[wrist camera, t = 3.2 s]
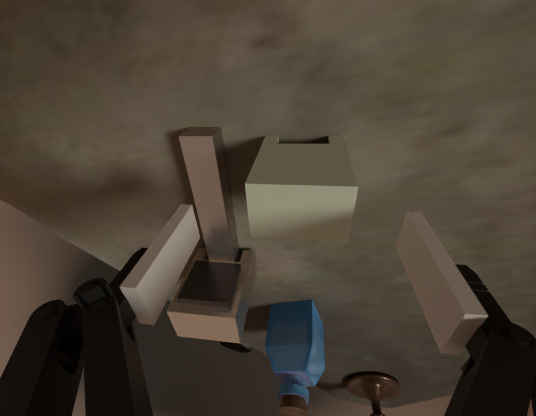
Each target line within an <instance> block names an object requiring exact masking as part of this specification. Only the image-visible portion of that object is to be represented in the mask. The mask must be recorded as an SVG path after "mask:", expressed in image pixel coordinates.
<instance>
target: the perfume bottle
mask: <svg viewBox="0 0 536 416" xmlns="http://www.w3.org/2000/svg"><path fill="white" fill-rule="evenodd" d="M265 348H266V351H267V354H268V357H269V360H270V362H271V365H272V369H273V371H274V373H275V374H276V376H277V377H278V379H279V380H280V381H281V383H282V385H281V386H280V388H279V399H280V400H281V404H280V408H279V412H280V413H281V414H283V415H285V416H307V409H306V404H308V402H309V391H308V390H307V388H306V387H311V386H312V387H314V386H315V385H316V384H317V382H318V380H319V378H320V377H321V375H322V373H323V372H324V370H325V357H324V333H323V324H322V321H321V319H320V317H319V314H318V312H317V310H316V307H315V305H314V303H313V300H306V301H297V302H288V303H279V304H271V308H270V315H269V322H268V329H267V335H266V342H265Z"/></svg>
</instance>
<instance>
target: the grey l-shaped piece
mask: <svg viewBox="0 0 536 416" xmlns="http://www.w3.org/2000/svg"><path fill="white" fill-rule="evenodd" d="M179 140H180V144H181V148H182V152H183V157H184V161H185V165H186V169H187V173H188V177H189V181H190V185H191V189H192V193H193V197H194V201H195V205H196V209H197V213H198V217H199V221H200V225H201V229H202V233H203V237H204V241H205V245H206V247H200V248H199V250H198V252H197V254H196V255H195V257H194V259H193V261H192V263H191V265H190V267H189V269H188V271H187V273H186V275H185V277H184V279H183V281H182V283H181V285H180V287H179V288H178V290H177V292H176V294H175V296H174V298H173V300H172V302H171V304H170V306H169V308H168V310H167V313H168V315H169V318H170V320H171V322H172V324H173V326H174V329H175V331H176V333H177V335H178V336H182V337H191V338H199V339H207V340H216V341H224V342H233V343H240V342H241V338H242V333H243V329H244V325H245V320H246V316H247V311H248V307H249V302H250V298H251V294H252V289H253V285H254V280H255V276H256V273H255V264H254V255H253V251H252V250H243V253H242V256H241V258H240V252H239V245H238V238H237V231H236V225H235V218H234V211H233V205H232V198H231V191H230V185H229V178H228V171H227V165H226V158H225V151H224V145H223V138H222V131H221V127H190V128H188V129H187V130H186V131H185V132H183V133H182V134H181V135H179Z"/></svg>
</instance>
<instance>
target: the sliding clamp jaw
mask: <svg viewBox="0 0 536 416" xmlns="http://www.w3.org/2000/svg"><path fill="white" fill-rule="evenodd" d="M245 190H246V199H247V208H248V217H249V226H250V235H251V237H252V238H270V239H288V240H305V241H323V242H341V243H348V242H349V237H350V231H351V225H352V219H353V214H354V208H355V202H356V197H357V191H358V184H357V181H356V178H355V174H354V171H353V168H352V165H351V161H350V158H349V155H348V152H347V148H346V145H345V142H344V139H343V136H328V144H279V136H265V138H264V141H263V143H262V145H261V148H260V150H259V152H258V155H257V157H256V159H255V161H254V164H253V166H252V168H251V171H250V173H249V175H248V178H247V180H246V182H245Z"/></svg>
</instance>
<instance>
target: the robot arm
mask: <svg viewBox="0 0 536 416" xmlns="http://www.w3.org/2000/svg"><path fill="white" fill-rule="evenodd" d="M199 239H200V235H199V231H198V227H197V223H196V219H195V215H194V211H193V207H192V205H183V204H181V205H180V206H179V207H178V209H177V210H176V212H175V213H174V214H173V216H172V217H171V218H170V220H169V221H168V222H167V224H166V225H165V226H164V228H163V229H162V230H161V232H160V233H159V234H158V236H157V237H156V238H155V240H154V241H153V242H152V244H151V245H150V246H149V248H141V249H140V250H138V251H137V252H136V253H134V254H133V255H132V257H131V258H130V259H129V260H128V263H126V264H125V266H124V267H123V268H122V269H121V271H120V272H119V273H118V274H117V276H116V277H115V278H114V279H113V281H112V282H111V283H110V284H109V285H108V283H107V281H106V280H105V279H103V278H95V279H92V280H89V281H87V282H85V283H83V284H82V285H81V286H80V287H78V289H77V290H76V291H75V293H74V296H73V298H74V299H75V301H76V302H77V303H78V304H74V305H69V306H66V304H65V303H64V302H63V301H62V300H52V301H50V302H47V303H45V304H43V305H42V306H40V307H39V308H38V309H36V310H35V311H34V312H33V314H32V315H31V316H30V318H29V320H28V322H27V324H26V326H25V328H24V330H23V332H22V334H21V336H20V339H19V340H18V343H17V345H16V347H15V349H14V351H13V353H12V355H11V357H10V359H9V361H8V363H7V366H6V368H5V370H4V372H3V374H2V376H1V378H0V416H72V412H73V408H74V403H75V399H76V395H77V391H78V387H79V383H80V379H81V374H82V370H83V366H84V380H85V381H84V382H85V409H86V416H153V413H152V408H151V403H150V399H149V394H148V390H147V386H146V381H145V376H144V372H143V368H142V363H141V358H140V355H139V350H138V345H137V340H136V336H135V331H134V327H133V325H132V322H133V320H134V319H135V317H136V318H137V319H138V321H139V323H140V324H150V325H154V324H155V322H156V320H157V318H158V316H159V315H160V313H161V311H162V309H163V307H164V305H165V303H166V301H167V299H168V298H169V296H170V294H171V292H172V290H173V288H174V286H175V284H176V282H177V280H178V279H179V277H180V275H181V273H182V271H183V269H184V267H185V265H186V263H187V261H188V260H189V258H190V256H191V254H192V252H193V250H194V248H195V246H196V244H197V242H198V241H199ZM396 249H397V251H398V253H399V256H400V258H401V260H402V263H403V265H404V267H405V270H406V272H407V275H408V277H409V279H410V282H411V284H412V286H413V289H414V291H415V293H416V296H417V298H418V300H419V303H420V305H421V308H422V310H423V312H424V315H425V317H426V319H427V322H428V324H429V326H430V329H431V331H432V333H433V336H434V338H435V341H436V343H437V345H438V348H439V350H440V352H441V353H450V354H461V352H462V351H463V350H464V348H465V347H466V348H467V350H468V352H469V354H470V358H469V359H468V360H467V362H466V363H465V364H464V365H463V367H462V368H461V370H463V372H462V375H461V377H460V379H459V382H458V384H457V387H456V389H455V391H454V394H453V396H452V399H451V401H450V403H449V406H448V408H447V410H446V413H445V415H444V416H527V413H528V408H529V404H530V399H531V400H532V407H533V413H534V416H536V338H535V337H534V336H533V335H532V334H531V333H530V332H529V331H527V330H525V329H524V328H522V327H521V326H519V325H516V324H514V323H512V322H511V321H510V320H509V319H508V317H507V316H506V314H505V313H504V312H503V310H502V309H501V307H500V306H499V305H498V303H497V302H496V300H495V299H494V298H493V296H492V295H491V293H489V292H488V289H487V288H486V286H485V285H483V282H482V281H481V279H480V278H479V277H478V275H477V274H476V273H475V272H474V271H473V270H471V269H470V268H469V267H468V266H466V265H457V264H454V262H453V261H452V259H451V258H450V256H449V254H448V253H447V251H446V250H445V248H444V247H443V245H442V244H441V242H440V241H439V239H438V238H437V236H436V234H435V233H434V231H433V230H432V228H431V227H430V225H429V224H428V222H427V221H426V219H425V218H424V216H423V215H422V213H421V212H407V213H406V216H405V219H404V222H403V225H402V229H401V232H400V235H399V238H398V241H397V245H396Z"/></svg>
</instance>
